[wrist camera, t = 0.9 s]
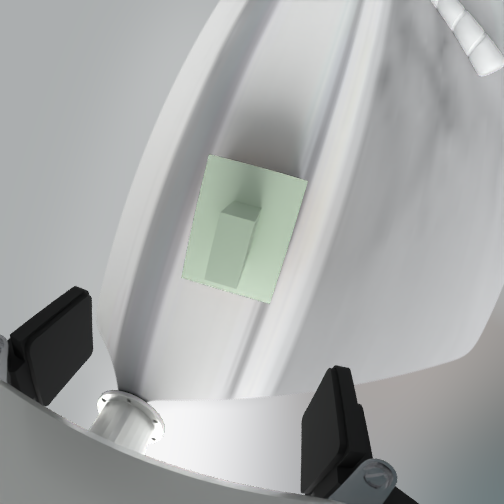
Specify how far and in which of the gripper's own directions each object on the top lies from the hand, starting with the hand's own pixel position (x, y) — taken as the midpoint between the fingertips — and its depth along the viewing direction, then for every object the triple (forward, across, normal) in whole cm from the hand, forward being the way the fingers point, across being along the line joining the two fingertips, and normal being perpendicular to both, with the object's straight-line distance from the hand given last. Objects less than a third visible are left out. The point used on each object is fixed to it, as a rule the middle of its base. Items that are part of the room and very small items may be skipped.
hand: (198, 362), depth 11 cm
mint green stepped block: (+19, +1, 0) cm, 19 cm away
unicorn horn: (+26, -14, -34) cm, 45 cm away
